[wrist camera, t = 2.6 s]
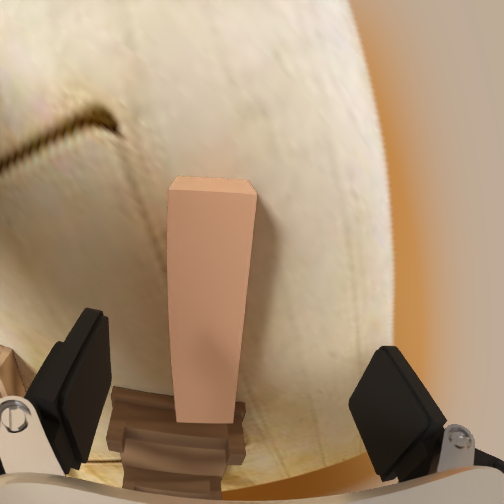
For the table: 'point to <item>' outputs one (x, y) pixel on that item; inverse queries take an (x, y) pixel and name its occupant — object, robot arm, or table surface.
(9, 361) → the low wooden frame
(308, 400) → the table surface
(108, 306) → the table surface
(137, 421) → the rack
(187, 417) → the tan pink long block
